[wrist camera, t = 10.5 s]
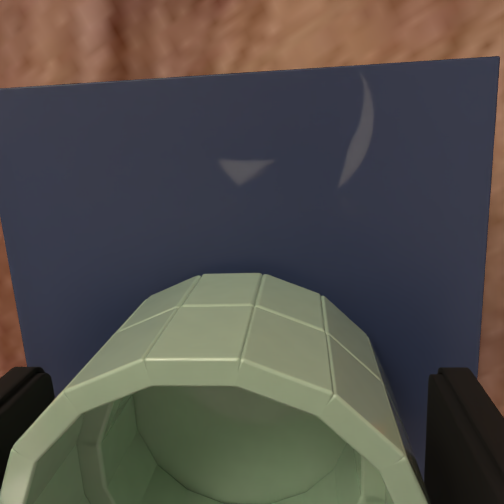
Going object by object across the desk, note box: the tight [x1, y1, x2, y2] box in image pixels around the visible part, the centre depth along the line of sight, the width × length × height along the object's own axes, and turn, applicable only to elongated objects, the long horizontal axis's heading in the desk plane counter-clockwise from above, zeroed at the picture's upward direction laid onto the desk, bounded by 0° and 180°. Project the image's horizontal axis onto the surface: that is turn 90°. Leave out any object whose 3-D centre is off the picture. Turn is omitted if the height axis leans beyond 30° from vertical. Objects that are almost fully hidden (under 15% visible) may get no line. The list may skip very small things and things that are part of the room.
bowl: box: [0, 273, 431, 504], centre depth 10 cm, size 7×7×5 cm
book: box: [0, 56, 500, 481], centre depth 13 cm, size 15×11×3 cm
